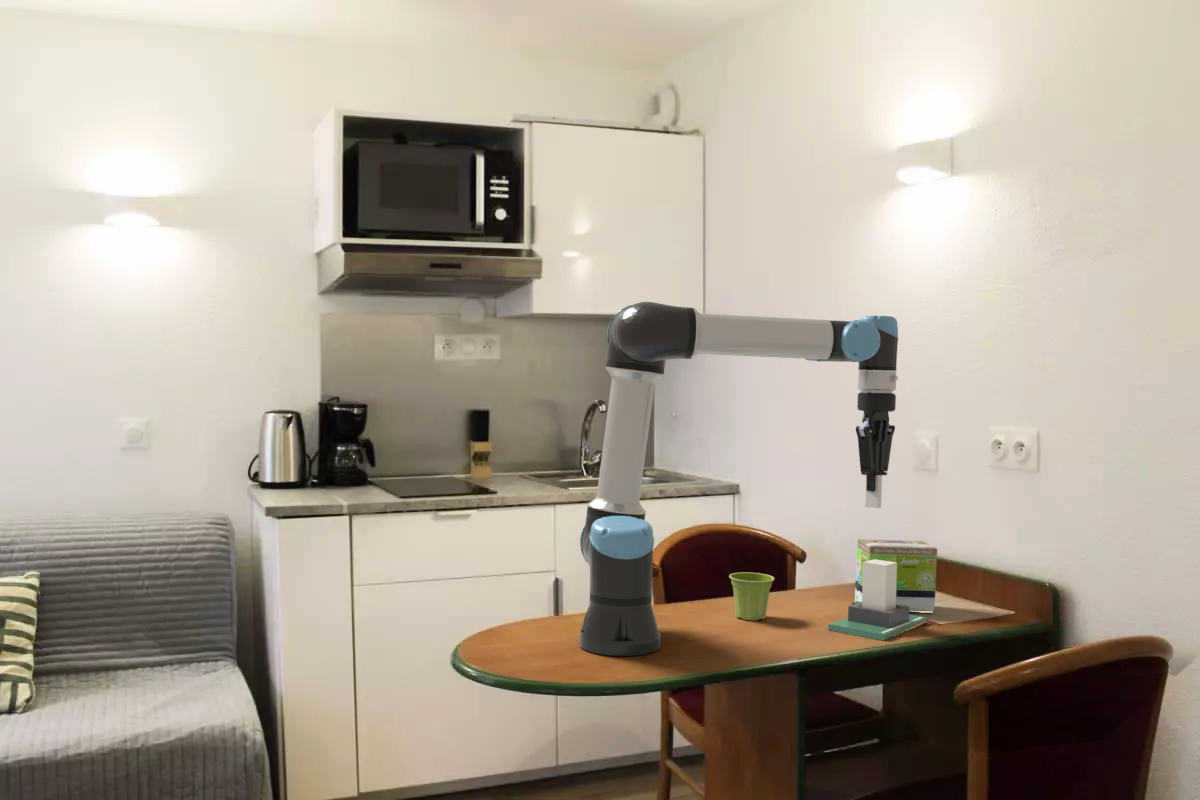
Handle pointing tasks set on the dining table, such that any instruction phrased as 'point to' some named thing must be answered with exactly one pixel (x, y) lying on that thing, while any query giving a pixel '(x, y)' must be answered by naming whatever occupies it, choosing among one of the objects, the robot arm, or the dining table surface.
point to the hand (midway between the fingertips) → (873, 507)
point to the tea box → (903, 570)
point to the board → (876, 621)
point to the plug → (879, 584)
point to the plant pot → (751, 594)
